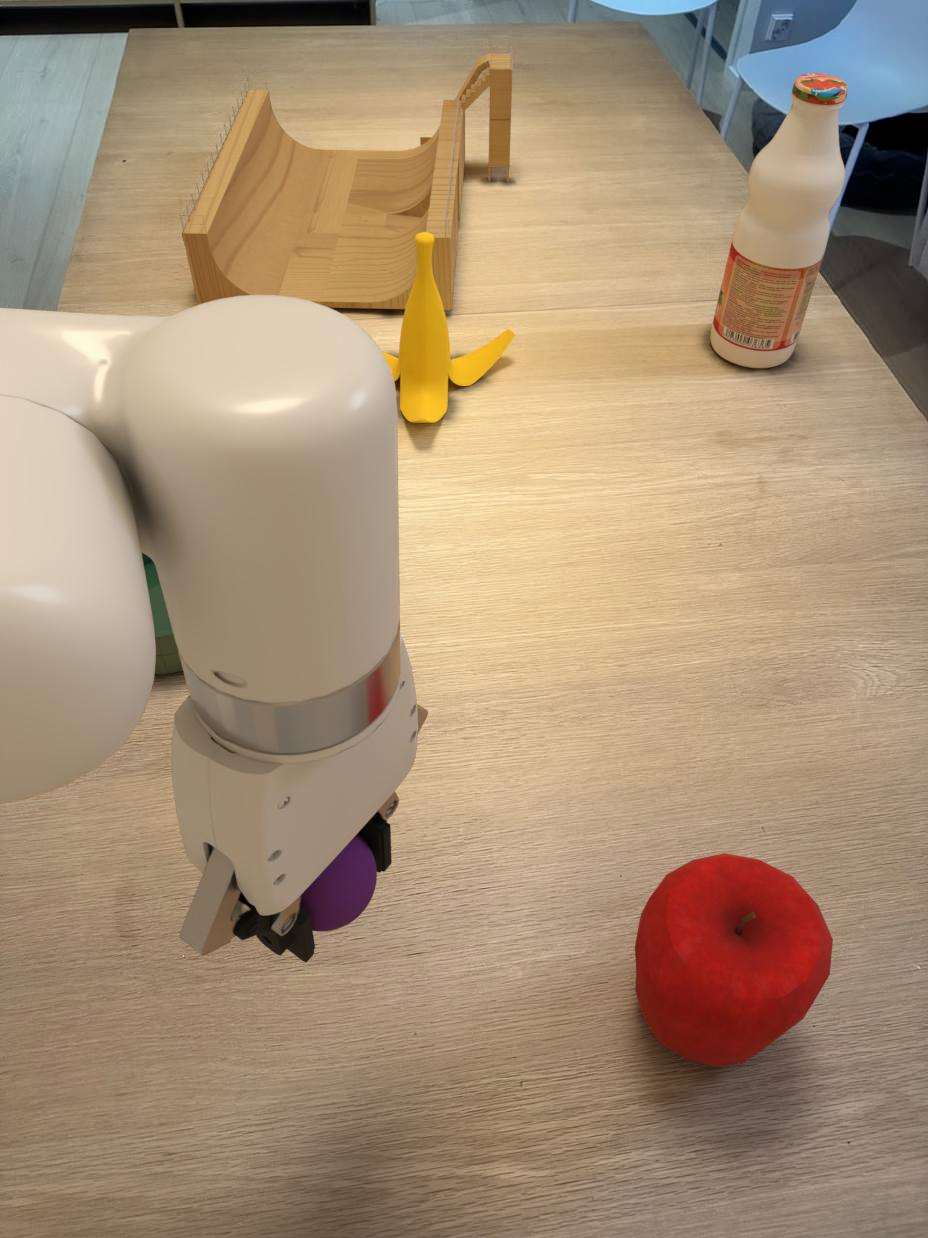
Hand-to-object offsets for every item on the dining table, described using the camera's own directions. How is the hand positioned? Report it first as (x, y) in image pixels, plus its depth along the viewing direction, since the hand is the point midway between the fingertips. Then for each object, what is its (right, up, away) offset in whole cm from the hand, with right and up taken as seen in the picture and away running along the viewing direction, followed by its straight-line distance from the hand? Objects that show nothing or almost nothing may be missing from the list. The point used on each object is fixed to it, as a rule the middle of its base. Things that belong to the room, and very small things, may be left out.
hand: (325, 893), depth 49 cm
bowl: (-18, +14, +37) cm, 43 cm away
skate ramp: (-6, +63, +81) cm, 103 cm away
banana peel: (+2, +36, +58) cm, 68 cm away
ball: (0, +1, -1) cm, 2 cm away
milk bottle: (+39, +44, +66) cm, 88 cm away
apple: (+21, -12, +16) cm, 29 cm away
